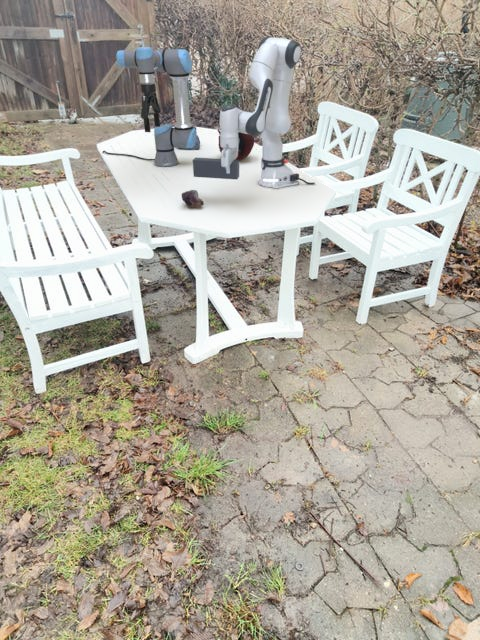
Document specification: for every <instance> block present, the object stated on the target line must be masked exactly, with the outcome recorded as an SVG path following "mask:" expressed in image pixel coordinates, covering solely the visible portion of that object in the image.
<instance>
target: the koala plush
mask: <svg viewBox="0 0 480 640" xmlns="http://www.w3.org/2000/svg"><path fill="white" fill-rule="evenodd" d="M190 122H191V123H192V124H193V128H195V129H196V130H197V127H196V126H195V125H194V123H193V122H192V121H191V120H190ZM200 148H201V140H200V136H199V135H198V134H197V138H196V143H195V145H194V147H193V148H180V149H181V150H199V149H200Z"/></svg>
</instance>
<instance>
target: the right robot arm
mask: <svg viewBox="0 0 480 640" xmlns="http://www.w3.org/2000/svg"><path fill="white" fill-rule="evenodd" d="M301 57H302V46H301V44H300V43H299V42H298V41H296V40H293V39H288V38H284V37H272V36H265V37H262V39H261V40H260V41H259V43H258V46H257V51H256V53H255V55H254V58H253V60H252V61H251V65H250V67H249V71H248V79H249V82H250V83H251V85H252V86H253V87H254V88H255V89H257V90H258V94H259V95H258V98H257V103H256V107H255V110H254V111H253V112H250V111H245V110H243V109H240V108H238V107H237V106H236V105H235V104H226V105H224V106H222V107H221V108H220V111H219V130H220V132H221V133H220V135H219V136H220V146H221V147H222V148H223V150H222V152H220V155H221V156H220V159H221V166H222V167H226V173H227V174H229V173H230V172H231V170H230V165H231V164H232V162H233V161H234V160H235V159H236V158H237V156H238V144H239V142H240V139H239V138H238V132H241V133H245V134H249V135H251V136H253V138H255V137H259V136H261V137H260V138H261V144H262V152H261V154H262V155H261V156H262V157H261V160H260V161H261V162H260V167H261V172H260V178H259V182H258V184H259V185H260V186H262V187H266V188H273V189H280V188H287V187H291V186H292V187H293V186H297V185H299V181H302V182H303V183H305V184H307V185H316V183H315V182H310V181H306V180H305V179H303V178H300V173H298V172H297V173H294V171H293V170H292V169H291V168H290V167H288V166H287V165H286V164H288V163H289V160H288V159H286V158H283V141H282V139H281V135H285V134H287V133H288V132H289V131H290V129H291V126H292V121H291V118H290V108H289V107H290V105H289V104H290V95H291V90H292V86H293V81H294V75H295V66H296V65H298V63H299V62H300V59H301Z"/></svg>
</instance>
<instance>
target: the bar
mask: <svg viewBox="0 0 480 640" xmlns="http://www.w3.org/2000/svg"><path fill="white" fill-rule="evenodd" d="M192 170H193V171H192V173H193V178H204V179H205V178H207V179H221V180H222V179H223V180H238V179H239V178H240V160H234V161H233V162H232V164H231V165H230V170H231V172H230V173H229V174H227V173H226V167H222V166H221V158H212V157H210V158H209V157H194V158H193V159H192Z"/></svg>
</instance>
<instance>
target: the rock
mask: <svg viewBox="0 0 480 640" xmlns="http://www.w3.org/2000/svg"><path fill="white" fill-rule="evenodd" d="M181 200H182V201H183V202H184V203H185V205H186V206H187V207H188V208H194V207H199V208H200V207H202V206H204V205H205V204H204V200H203V199H202V198H200V197H199V192H198V190H197V189H190V190H187V191H185V192H182V193H181Z"/></svg>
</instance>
